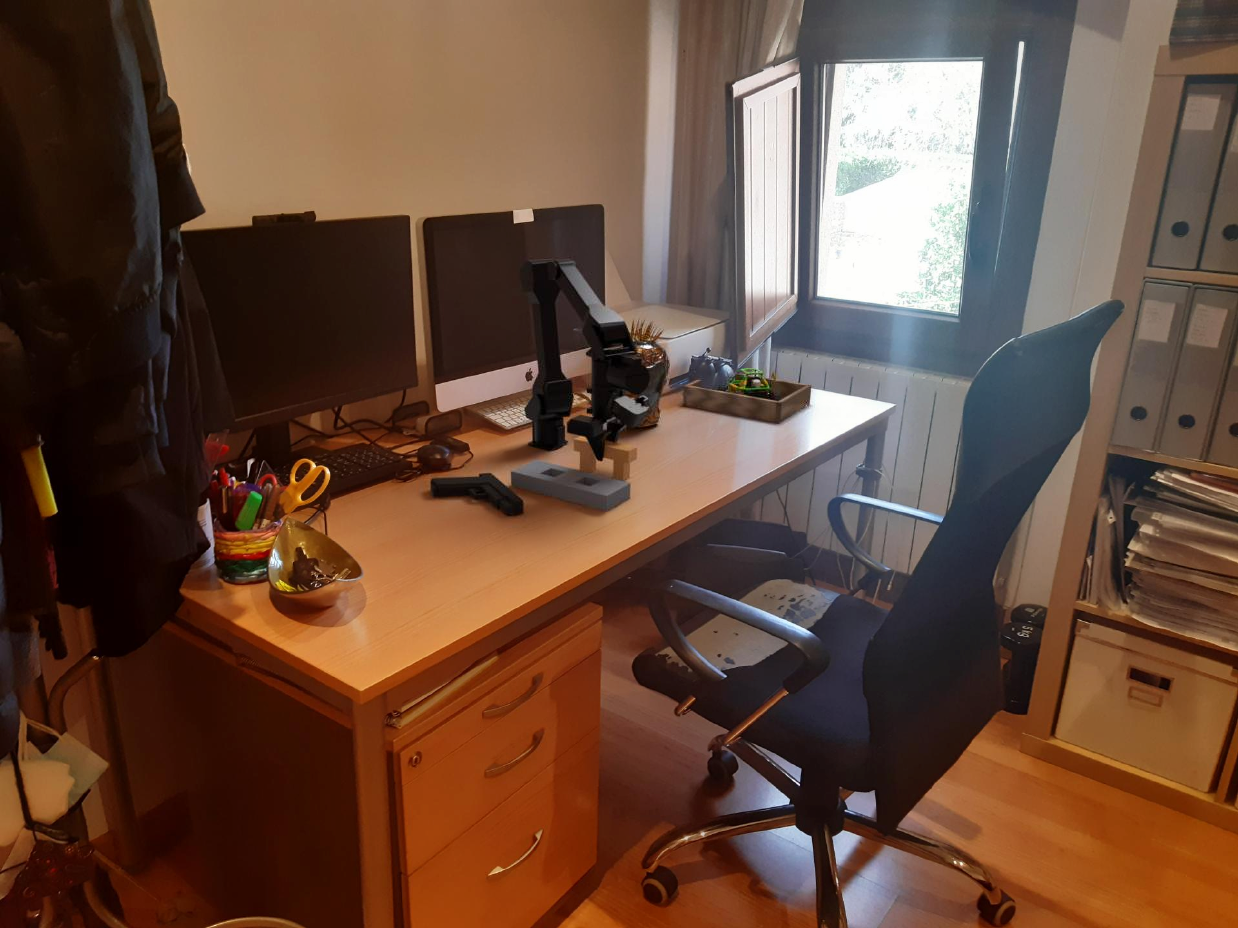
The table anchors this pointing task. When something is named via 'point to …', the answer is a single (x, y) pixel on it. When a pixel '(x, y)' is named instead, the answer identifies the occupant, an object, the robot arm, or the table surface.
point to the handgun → (479, 491)
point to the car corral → (750, 400)
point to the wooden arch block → (613, 451)
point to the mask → (651, 370)
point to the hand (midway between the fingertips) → (604, 458)
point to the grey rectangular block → (571, 485)
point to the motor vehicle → (752, 386)
